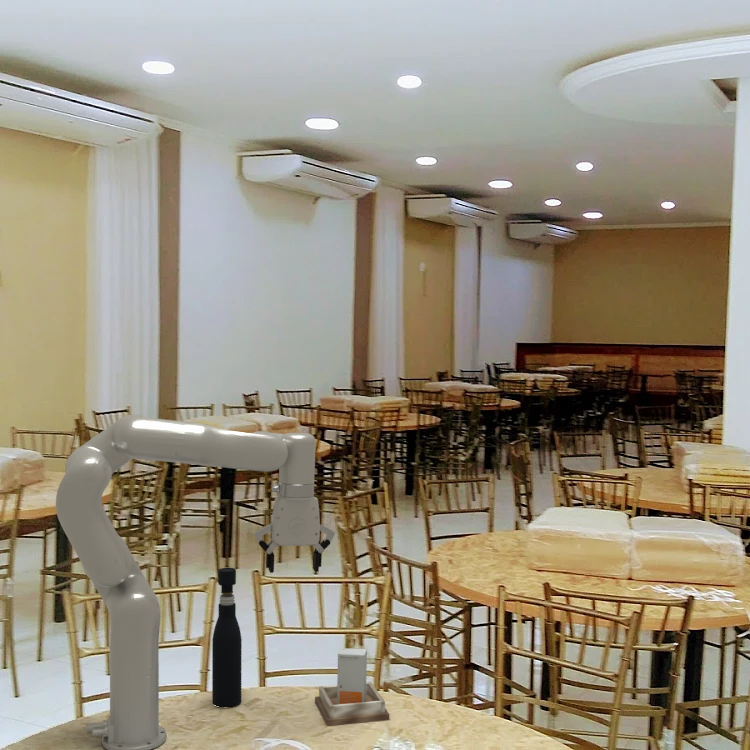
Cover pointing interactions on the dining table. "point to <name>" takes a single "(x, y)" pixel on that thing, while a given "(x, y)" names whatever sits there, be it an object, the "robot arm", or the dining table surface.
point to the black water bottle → (226, 646)
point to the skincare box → (351, 676)
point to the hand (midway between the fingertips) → (293, 570)
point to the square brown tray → (350, 707)
